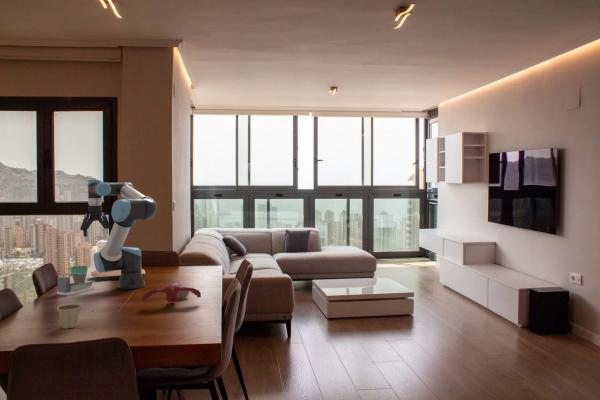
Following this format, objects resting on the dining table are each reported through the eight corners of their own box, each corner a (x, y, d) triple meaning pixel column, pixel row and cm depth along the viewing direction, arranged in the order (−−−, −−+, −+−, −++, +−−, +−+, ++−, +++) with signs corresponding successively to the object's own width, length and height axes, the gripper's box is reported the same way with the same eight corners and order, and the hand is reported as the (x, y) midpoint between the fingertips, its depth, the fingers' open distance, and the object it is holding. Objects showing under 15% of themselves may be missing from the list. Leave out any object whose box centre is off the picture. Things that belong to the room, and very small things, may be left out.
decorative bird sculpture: (142, 315, 252) (141, 298, 242) (143, 299, 259) (142, 282, 248) (200, 311, 260) (201, 294, 250) (199, 295, 266) (200, 278, 256)
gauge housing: (84, 287, 296) (83, 271, 296) (94, 289, 293) (94, 272, 292) (57, 294, 280) (56, 277, 280) (67, 295, 277) (67, 278, 276)
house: (91, 275, 335) (91, 263, 335) (143, 272, 346) (143, 260, 346) (90, 282, 314) (89, 269, 313) (145, 278, 325) (145, 266, 325)
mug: (85, 285, 304) (85, 268, 304) (68, 285, 303) (68, 268, 302) (92, 280, 318) (92, 264, 318) (76, 280, 317) (75, 264, 317)
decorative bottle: (189, 298, 269) (189, 286, 269) (175, 300, 266) (175, 287, 266) (177, 289, 292) (177, 277, 292) (164, 290, 289) (164, 279, 288)
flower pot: (62, 323, 223) (62, 304, 223) (84, 323, 224) (84, 303, 223) (54, 330, 214) (53, 310, 213) (77, 329, 214) (76, 309, 214)
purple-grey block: (76, 287, 291) (76, 272, 290) (85, 288, 287) (85, 274, 287) (68, 289, 286) (68, 274, 286) (78, 290, 283) (78, 275, 282)
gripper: (107, 204, 315) (107, 237, 316) (73, 206, 293) (73, 242, 294) (115, 204, 312) (116, 238, 312) (82, 206, 289) (82, 243, 290)
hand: (95, 240), depth 303 cm, fingers open, 13 cm apart
